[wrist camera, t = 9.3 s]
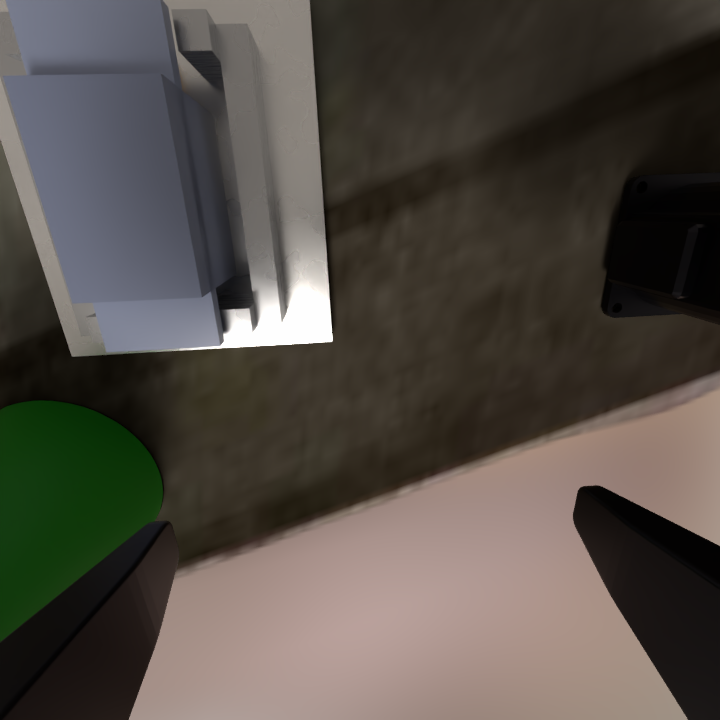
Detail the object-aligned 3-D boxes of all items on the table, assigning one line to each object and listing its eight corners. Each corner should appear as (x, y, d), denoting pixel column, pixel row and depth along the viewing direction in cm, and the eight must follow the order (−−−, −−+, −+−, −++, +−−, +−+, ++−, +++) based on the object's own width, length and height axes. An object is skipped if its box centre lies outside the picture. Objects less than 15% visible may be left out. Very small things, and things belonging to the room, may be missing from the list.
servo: (204, 52, 14) (143, -25, 10) (243, 317, 18) (212, 356, 13) (90, 53, 14) (-28, -24, 9) (153, 322, 18) (90, 362, 13)
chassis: (310, 8, 15) (304, -59, 11) (332, 335, 20) (332, 364, 16) (-22, 12, 14) (-146, -58, 10) (84, 349, 19) (24, 383, 15)
